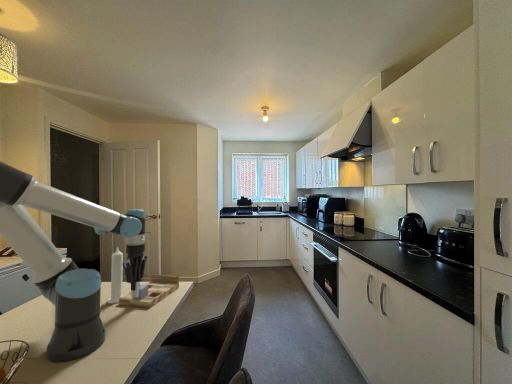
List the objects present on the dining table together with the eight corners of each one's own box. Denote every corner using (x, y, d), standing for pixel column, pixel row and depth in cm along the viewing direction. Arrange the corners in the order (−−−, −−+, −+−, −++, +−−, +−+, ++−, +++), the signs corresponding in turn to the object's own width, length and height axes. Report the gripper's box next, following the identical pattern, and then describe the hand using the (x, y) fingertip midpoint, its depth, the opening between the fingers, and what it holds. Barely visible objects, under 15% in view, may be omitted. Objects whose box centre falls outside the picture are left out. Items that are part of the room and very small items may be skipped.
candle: (119, 303, 105) (120, 248, 106) (103, 303, 105) (105, 248, 106) (128, 297, 112) (129, 245, 113) (113, 296, 112) (114, 245, 113)
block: (141, 299, 104) (141, 289, 104) (132, 298, 105) (132, 288, 105) (147, 295, 108) (148, 285, 109) (139, 294, 109) (139, 284, 109)
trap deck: (149, 308, 101) (150, 294, 101) (118, 304, 104) (119, 291, 104) (178, 287, 125) (179, 276, 125) (152, 285, 128) (152, 274, 128)
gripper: (132, 247, 96) (131, 304, 96) (152, 241, 109) (151, 291, 109) (117, 246, 98) (116, 302, 97) (138, 240, 111) (138, 290, 110)
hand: (135, 296), depth 103 cm, fingers closed
